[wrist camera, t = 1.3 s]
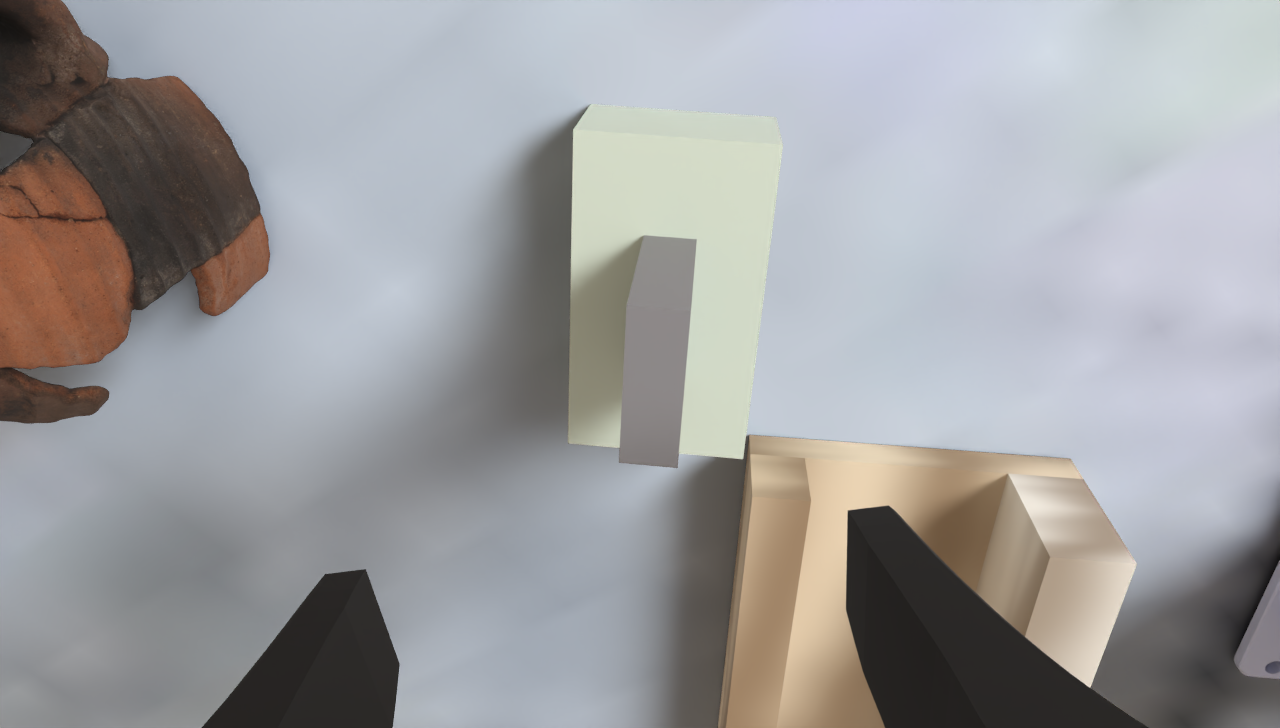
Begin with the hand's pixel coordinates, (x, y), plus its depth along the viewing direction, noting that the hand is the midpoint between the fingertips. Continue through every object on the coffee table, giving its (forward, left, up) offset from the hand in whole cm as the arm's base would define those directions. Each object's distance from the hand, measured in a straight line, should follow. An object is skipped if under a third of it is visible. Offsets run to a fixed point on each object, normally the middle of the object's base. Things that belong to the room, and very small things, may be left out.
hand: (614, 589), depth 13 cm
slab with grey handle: (0, -1, -12) cm, 12 cm away
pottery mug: (+15, -3, -12) cm, 20 cm away
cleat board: (-7, +14, -12) cm, 20 cm away
